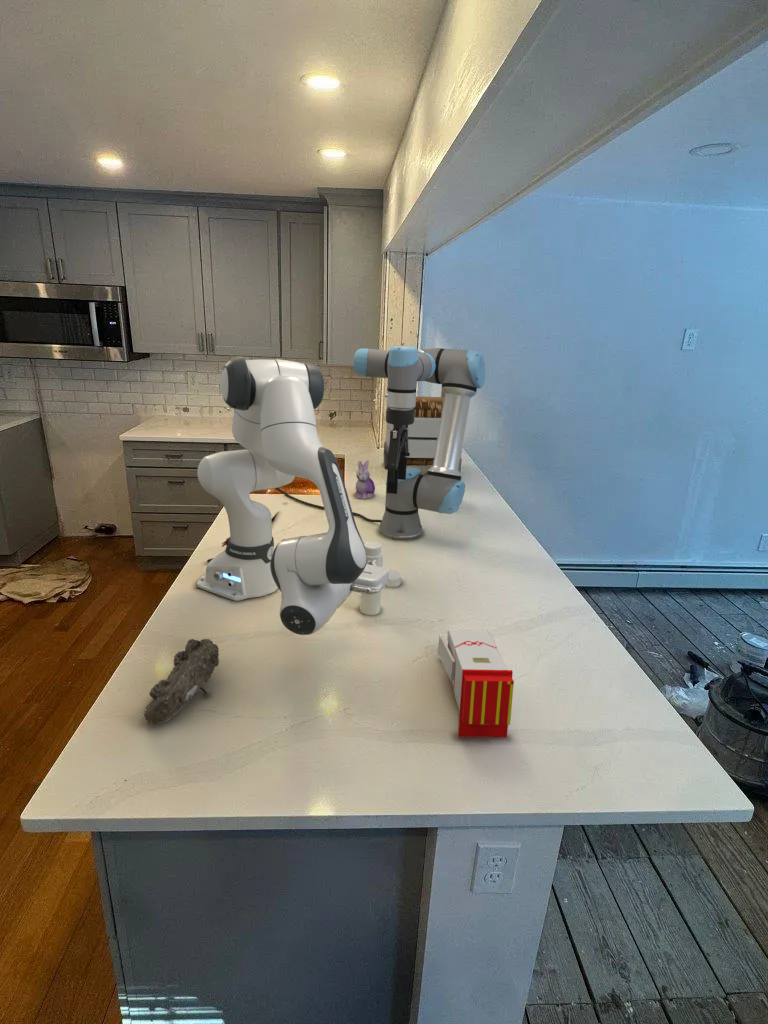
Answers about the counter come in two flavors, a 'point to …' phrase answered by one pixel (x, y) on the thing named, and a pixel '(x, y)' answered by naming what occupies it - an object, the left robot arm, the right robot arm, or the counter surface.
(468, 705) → the toy
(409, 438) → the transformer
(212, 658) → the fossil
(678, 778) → the counter surface
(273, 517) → the feather
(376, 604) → the jar
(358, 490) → the figurine
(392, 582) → the white cylinder
